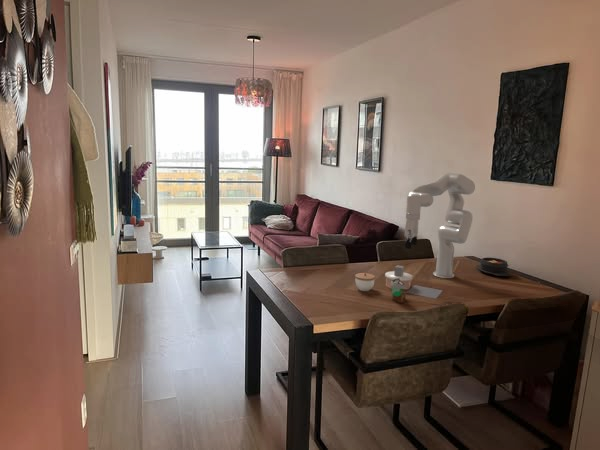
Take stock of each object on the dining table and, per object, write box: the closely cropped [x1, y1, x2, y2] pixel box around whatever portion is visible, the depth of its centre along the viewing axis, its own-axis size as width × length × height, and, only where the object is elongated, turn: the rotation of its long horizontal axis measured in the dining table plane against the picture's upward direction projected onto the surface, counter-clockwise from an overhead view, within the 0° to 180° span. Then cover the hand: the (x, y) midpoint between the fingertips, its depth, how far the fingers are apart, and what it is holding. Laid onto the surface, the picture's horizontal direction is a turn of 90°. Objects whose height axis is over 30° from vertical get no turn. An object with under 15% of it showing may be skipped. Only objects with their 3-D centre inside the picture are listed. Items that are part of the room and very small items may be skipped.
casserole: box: [475, 257, 512, 277], centre depth 280 cm, size 25×19×8 cm
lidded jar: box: [354, 272, 376, 292], centre depth 237 cm, size 11×11×9 cm
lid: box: [384, 264, 413, 281], centre depth 242 cm, size 15×15×6 cm
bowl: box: [385, 277, 412, 291], centre depth 243 cm, size 13×13×6 cm
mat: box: [406, 284, 444, 300], centre depth 236 cm, size 16×16×1 cm
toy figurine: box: [391, 278, 408, 304], centre depth 222 cm, size 12×6×10 cm, turn 5°
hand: (411, 246), depth 243 cm, fingers open, 9 cm apart
